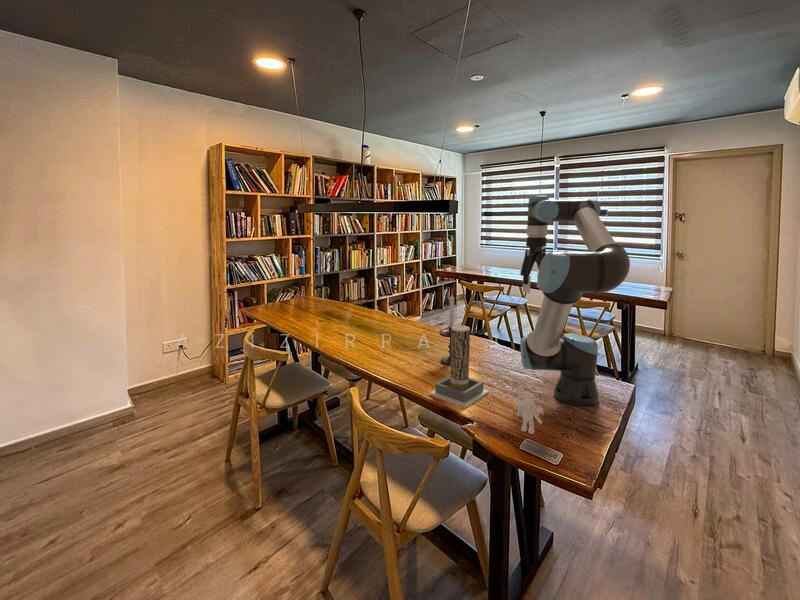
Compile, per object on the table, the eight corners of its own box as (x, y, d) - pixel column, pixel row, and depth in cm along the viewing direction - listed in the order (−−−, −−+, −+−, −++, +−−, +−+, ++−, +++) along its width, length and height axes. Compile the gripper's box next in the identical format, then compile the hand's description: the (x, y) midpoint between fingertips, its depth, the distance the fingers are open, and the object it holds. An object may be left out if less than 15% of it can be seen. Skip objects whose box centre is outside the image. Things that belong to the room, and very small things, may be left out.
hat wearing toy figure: (511, 428, 125) (513, 393, 123) (517, 423, 128) (519, 389, 126) (539, 438, 119) (542, 402, 117) (544, 433, 122) (547, 397, 120)
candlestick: (442, 356, 190) (443, 285, 183) (464, 359, 186) (466, 286, 179) (436, 364, 180) (437, 289, 173) (460, 367, 176) (461, 290, 169)
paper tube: (455, 385, 154) (457, 324, 149) (471, 390, 150) (473, 327, 145) (446, 391, 149) (447, 328, 144) (462, 396, 145) (464, 331, 140)
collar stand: (488, 393, 150) (489, 382, 149) (465, 408, 139) (465, 396, 138) (453, 381, 161) (454, 371, 160) (429, 394, 149) (429, 383, 148)
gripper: (540, 235, 166) (537, 284, 171) (513, 237, 148) (510, 293, 152) (558, 235, 161) (554, 286, 166) (532, 238, 143) (528, 295, 148)
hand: (533, 289), depth 159 cm, fingers open, 13 cm apart
